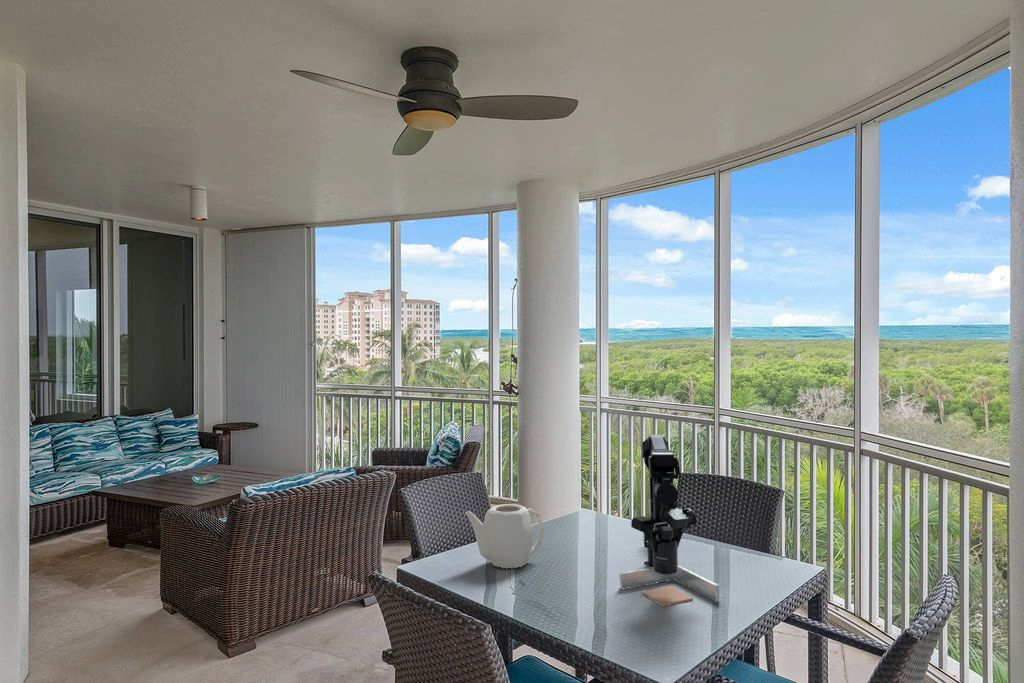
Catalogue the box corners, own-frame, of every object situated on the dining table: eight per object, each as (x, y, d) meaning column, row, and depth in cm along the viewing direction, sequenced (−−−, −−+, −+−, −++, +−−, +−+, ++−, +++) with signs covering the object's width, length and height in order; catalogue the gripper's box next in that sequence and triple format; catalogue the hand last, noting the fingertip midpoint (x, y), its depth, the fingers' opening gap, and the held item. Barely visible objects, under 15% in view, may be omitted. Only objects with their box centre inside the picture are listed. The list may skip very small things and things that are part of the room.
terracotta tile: (642, 593, 175) (642, 591, 175) (670, 588, 179) (670, 586, 179) (662, 606, 166) (662, 604, 166) (692, 600, 170) (692, 598, 170)
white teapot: (461, 561, 207) (460, 505, 207) (536, 553, 213) (535, 499, 214) (470, 577, 192) (469, 517, 192) (550, 567, 198) (549, 509, 199)
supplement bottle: (657, 575, 169) (656, 532, 169) (650, 567, 176) (649, 525, 176) (681, 574, 170) (680, 531, 170) (673, 566, 176) (672, 524, 177)
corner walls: (619, 588, 180) (619, 572, 180) (675, 577, 187) (674, 563, 187) (659, 613, 161) (659, 596, 162) (719, 601, 169) (718, 584, 169)
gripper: (652, 506, 162) (653, 564, 162) (708, 498, 169) (710, 555, 169) (629, 497, 173) (631, 552, 172) (683, 490, 180) (685, 543, 179)
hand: (665, 551), depth 173 cm, fingers closed on supplement bottle, 7 cm apart
